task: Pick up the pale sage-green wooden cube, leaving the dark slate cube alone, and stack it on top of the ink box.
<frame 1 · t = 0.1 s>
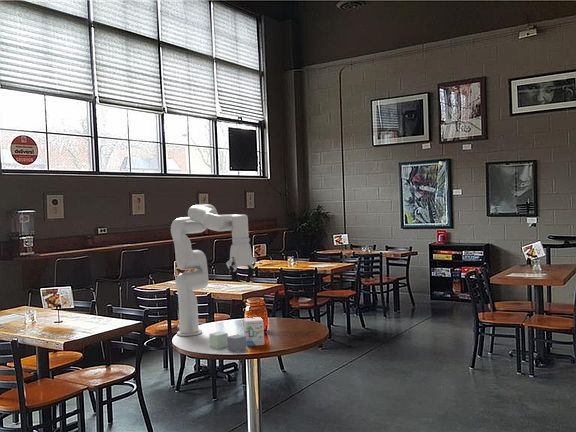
hand: (242, 278, 263), 31 cm above the table, tool pointing down, fingers open, 9 cm apart
slate block: (237, 349, 258), on the table
ink box: (254, 344, 268), on the table
sage block: (219, 346, 266), on the table
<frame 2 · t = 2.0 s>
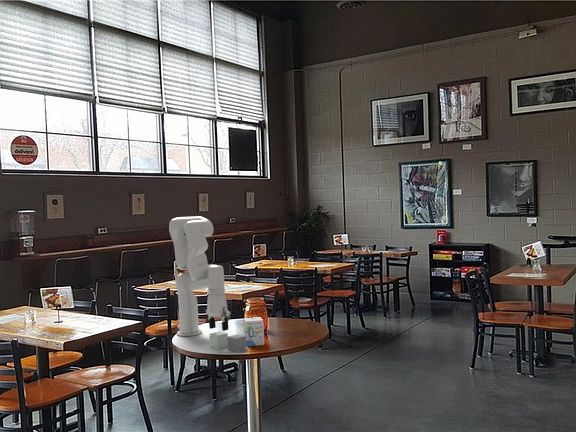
hand: (218, 329, 265), 8 cm above the table, tool pointing down, fingers open, 9 cm apart
nothing on the table moved.
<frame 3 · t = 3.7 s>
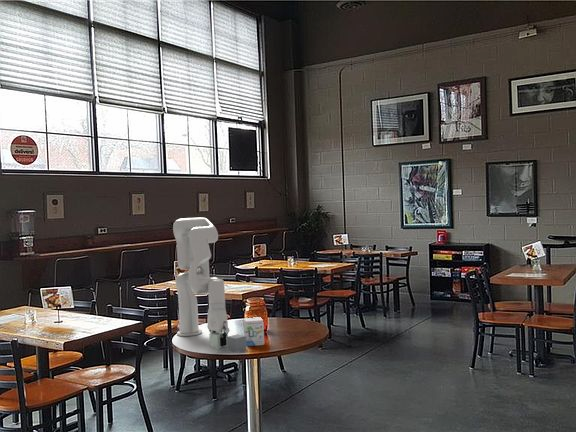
hand: (219, 344, 266), 1 cm above the table, tool pointing down, fingers closed on sage block, 6 cm apart
sage block: (219, 346, 266), on the table, touching gripper
everything else where it was.
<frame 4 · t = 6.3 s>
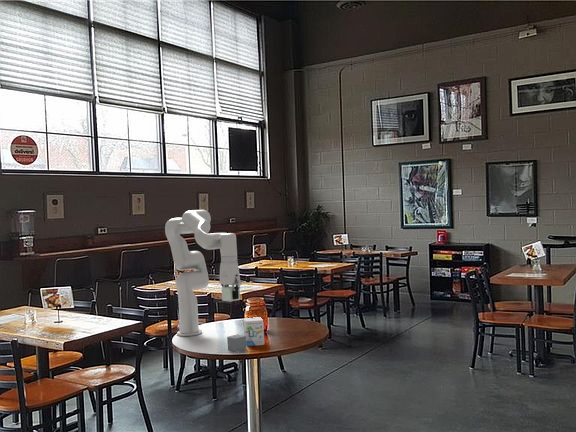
hand: (231, 298, 266), 22 cm above the table, tool pointing down, fingers closed on sage block, 6 cm apart
sage block: (231, 300, 266), point 21 cm above the table, touching gripper
everything else where it was.
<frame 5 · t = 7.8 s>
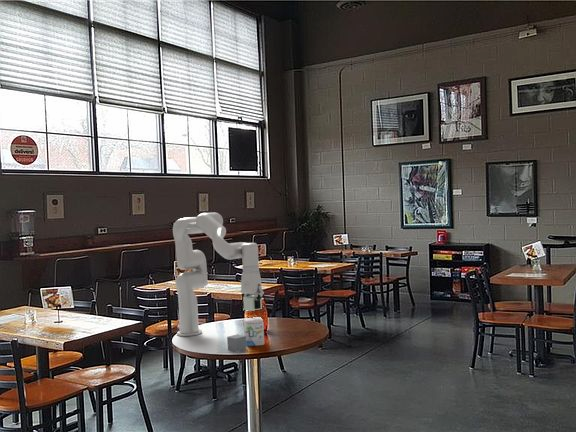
hand: (252, 307, 268), 17 cm above the table, tool pointing down, fingers closed on sage block, 6 cm apart
sage block: (253, 309, 268), point 16 cm above the table, touching gripper
everything else where it was.
when the fingers open (14 cm above the table, at t = 9.1 s): sage block drops 2 cm, resting on ink box.
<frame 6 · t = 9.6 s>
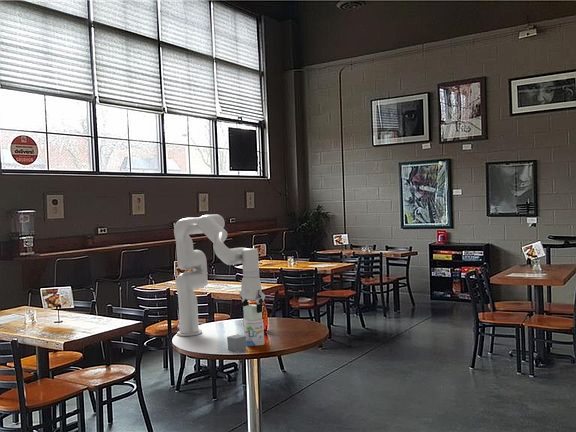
hand: (252, 311, 268), 15 cm above the table, tool pointing down, fingers open, 9 cm apart
ink box: (254, 344, 268), on the table, touching sage block
sage block: (252, 318, 268), point 12 cm above the table, touching ink box
everything else where it was.
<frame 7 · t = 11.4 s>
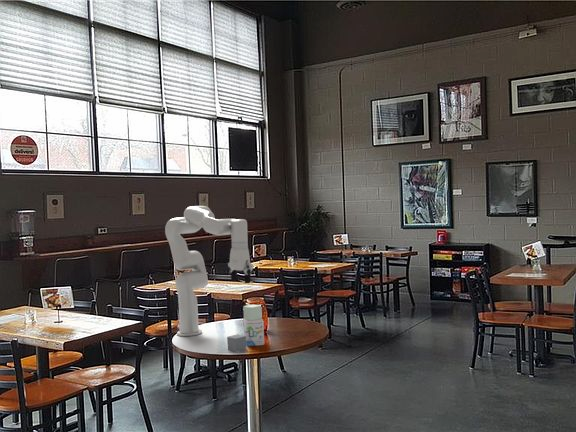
hand: (240, 282, 269), 29 cm above the table, tool pointing down, fingers open, 9 cm apart
nothing on the table moved.
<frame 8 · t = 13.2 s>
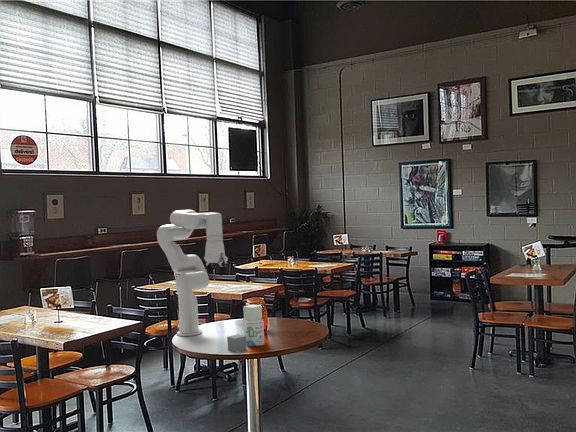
hand: (216, 274, 273), 32 cm above the table, tool pointing down, fingers open, 9 cm apart
nothing on the table moved.
at the end: sage block inside the target area on the ink box (0.1 cm from its centre), point 11.8 cm above the ink box's base; the gripper is holding nothing; ink box tilted 0° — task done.
